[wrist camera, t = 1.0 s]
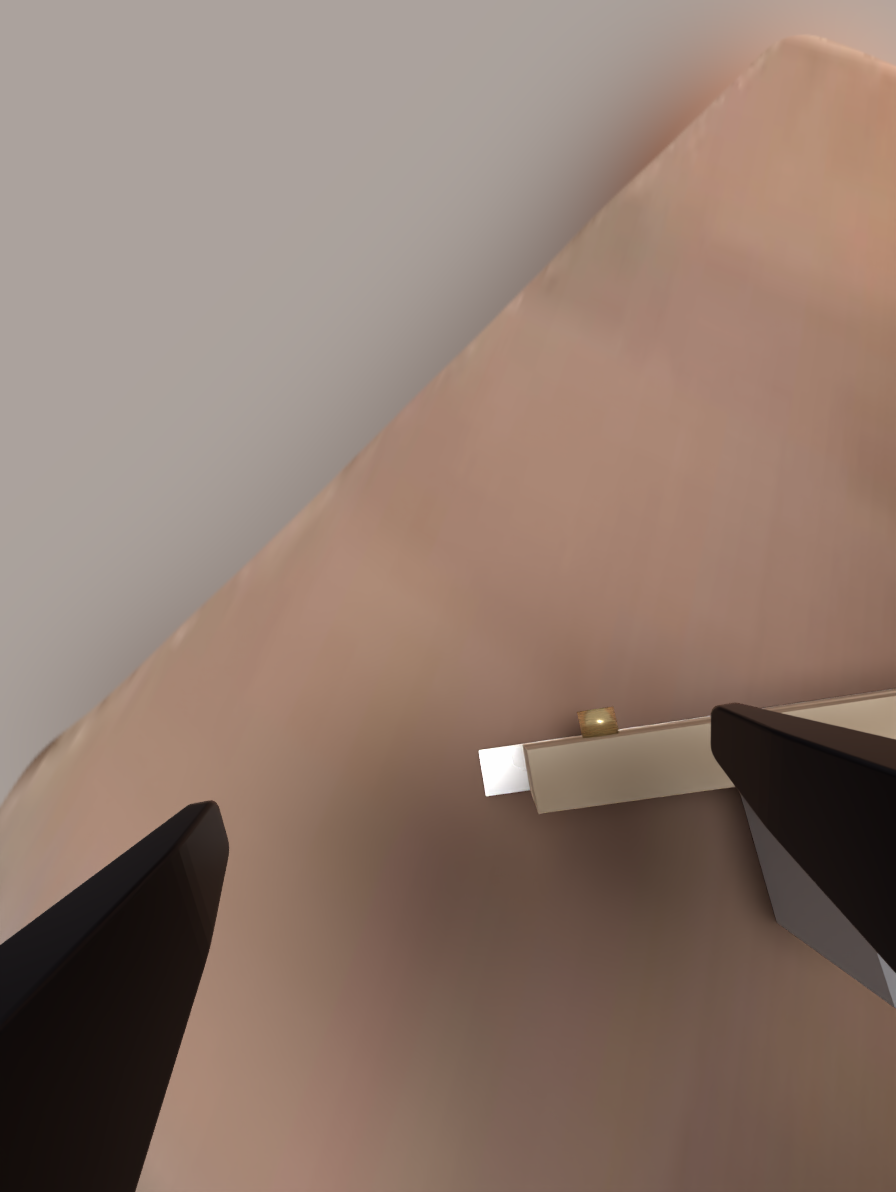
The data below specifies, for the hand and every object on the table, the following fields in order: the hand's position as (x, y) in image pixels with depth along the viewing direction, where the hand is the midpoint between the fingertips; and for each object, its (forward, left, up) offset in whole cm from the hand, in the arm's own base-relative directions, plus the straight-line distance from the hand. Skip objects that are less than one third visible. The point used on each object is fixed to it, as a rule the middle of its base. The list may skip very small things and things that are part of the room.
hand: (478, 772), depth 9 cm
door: (-1, -10, -14) cm, 18 cm away
